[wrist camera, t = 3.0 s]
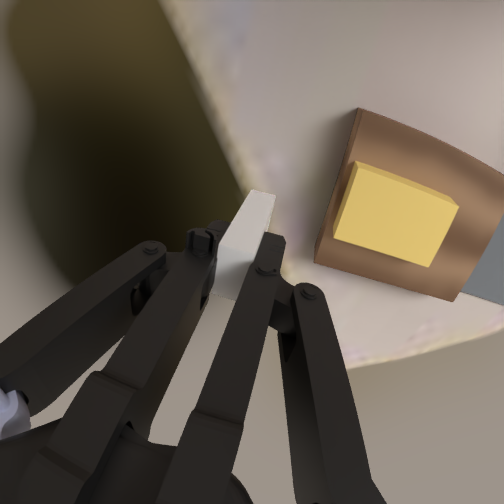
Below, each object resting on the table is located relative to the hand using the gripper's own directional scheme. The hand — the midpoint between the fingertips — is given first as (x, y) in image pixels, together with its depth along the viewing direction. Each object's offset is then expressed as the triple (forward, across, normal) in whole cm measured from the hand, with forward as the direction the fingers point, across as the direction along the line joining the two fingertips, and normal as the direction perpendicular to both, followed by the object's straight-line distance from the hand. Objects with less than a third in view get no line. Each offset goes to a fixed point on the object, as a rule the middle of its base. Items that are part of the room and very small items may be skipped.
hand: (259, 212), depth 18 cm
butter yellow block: (+7, +10, 0) cm, 12 cm away
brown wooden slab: (+10, +13, 0) cm, 16 cm away
